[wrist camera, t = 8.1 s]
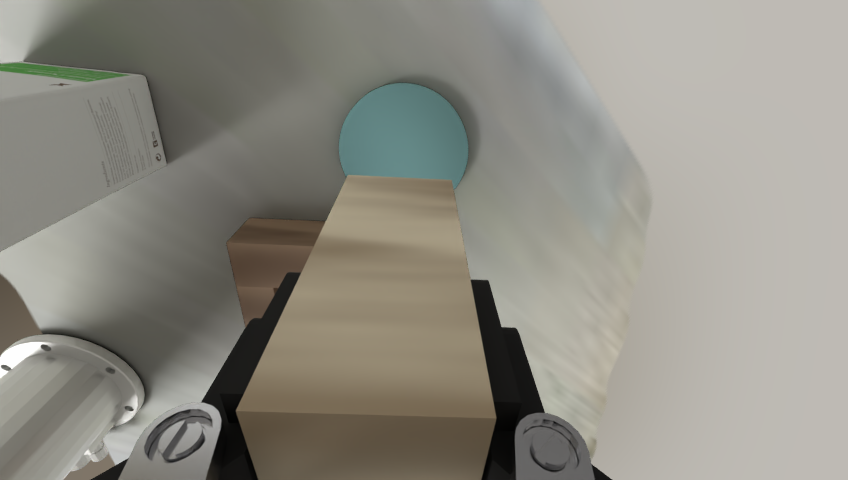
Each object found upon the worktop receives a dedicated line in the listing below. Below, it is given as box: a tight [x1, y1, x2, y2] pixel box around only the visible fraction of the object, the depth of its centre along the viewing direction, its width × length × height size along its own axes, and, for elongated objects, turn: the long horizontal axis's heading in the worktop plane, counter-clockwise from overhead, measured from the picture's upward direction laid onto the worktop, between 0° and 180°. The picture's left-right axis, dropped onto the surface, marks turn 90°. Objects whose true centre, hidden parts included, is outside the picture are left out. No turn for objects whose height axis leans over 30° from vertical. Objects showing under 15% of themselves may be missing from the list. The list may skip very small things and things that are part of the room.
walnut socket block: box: [226, 218, 326, 327], centre depth 31 cm, size 12×10×4 cm
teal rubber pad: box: [339, 83, 468, 189], centre depth 26 cm, size 9×9×1 cm
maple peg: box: [236, 175, 496, 480], centre depth 11 cm, size 4×4×10 cm
